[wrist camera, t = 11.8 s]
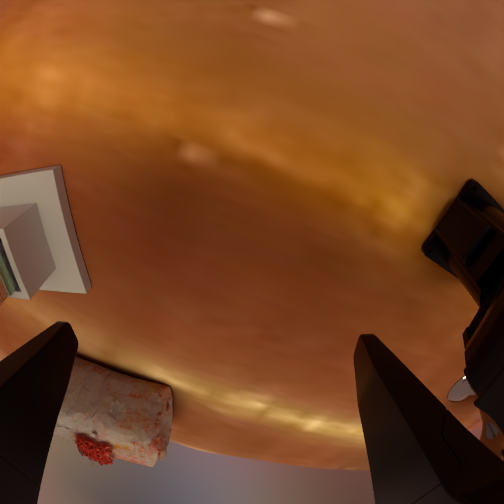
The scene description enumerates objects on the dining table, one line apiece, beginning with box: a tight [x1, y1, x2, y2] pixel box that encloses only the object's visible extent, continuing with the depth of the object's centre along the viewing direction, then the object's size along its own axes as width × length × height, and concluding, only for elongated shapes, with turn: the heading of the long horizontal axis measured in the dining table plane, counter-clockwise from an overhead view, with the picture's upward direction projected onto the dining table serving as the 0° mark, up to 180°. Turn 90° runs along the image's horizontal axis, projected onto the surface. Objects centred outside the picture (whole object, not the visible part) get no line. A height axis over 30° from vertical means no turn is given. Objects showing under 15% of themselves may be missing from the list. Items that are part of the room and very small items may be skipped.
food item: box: [54, 356, 173, 467], centre depth 26 cm, size 14×8×10 cm, turn 73°
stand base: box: [0, 165, 92, 300], centre depth 19 cm, size 10×10×6 cm
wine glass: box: [448, 376, 504, 461], centre depth 23 cm, size 8×8×15 cm
